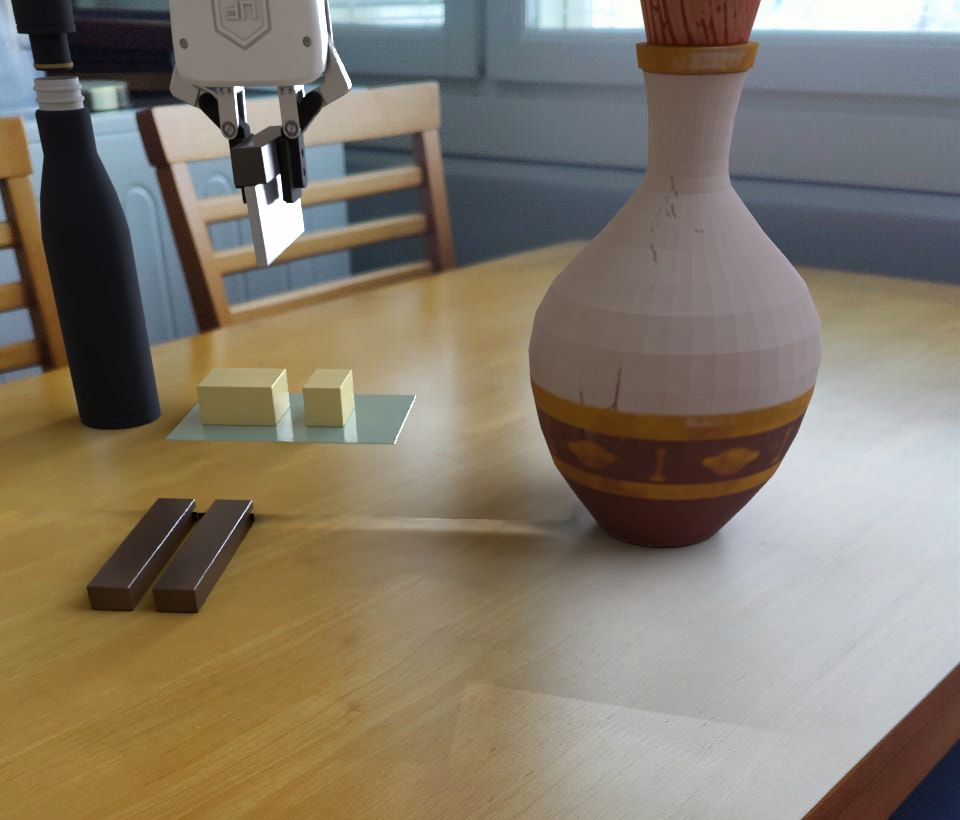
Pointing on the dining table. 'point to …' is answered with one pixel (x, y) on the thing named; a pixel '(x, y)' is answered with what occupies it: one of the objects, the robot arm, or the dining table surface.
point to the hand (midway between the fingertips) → (272, 197)
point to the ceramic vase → (677, 312)
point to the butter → (243, 396)
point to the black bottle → (86, 240)
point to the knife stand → (155, 546)
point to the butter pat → (328, 397)
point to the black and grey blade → (266, 195)
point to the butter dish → (365, 425)
